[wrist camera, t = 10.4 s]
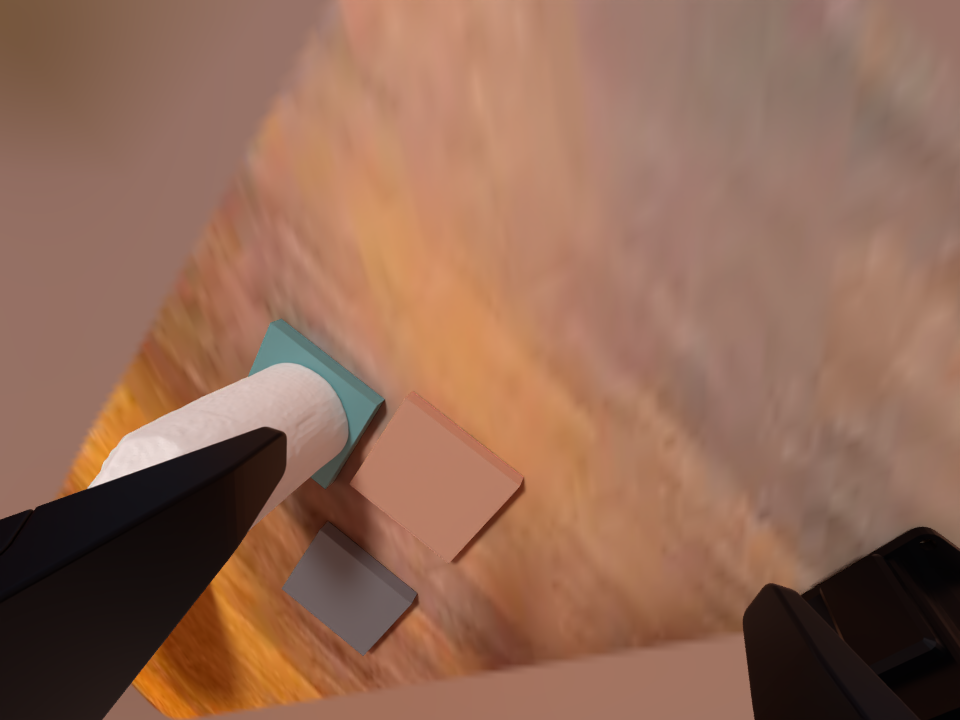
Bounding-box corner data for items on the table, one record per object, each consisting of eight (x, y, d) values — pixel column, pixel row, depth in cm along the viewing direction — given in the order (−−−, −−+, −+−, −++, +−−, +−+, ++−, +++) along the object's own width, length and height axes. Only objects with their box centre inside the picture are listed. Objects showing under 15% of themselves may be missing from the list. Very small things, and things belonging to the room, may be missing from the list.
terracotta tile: (523, 477, 23) (520, 486, 22) (453, 553, 26) (448, 563, 25) (412, 391, 23) (405, 397, 23) (357, 476, 26) (349, 484, 26)
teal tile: (384, 399, 24) (376, 405, 23) (333, 481, 27) (325, 489, 26) (281, 318, 24) (270, 322, 24) (243, 408, 28) (232, 414, 27)
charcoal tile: (417, 593, 28) (411, 603, 27) (369, 645, 31) (363, 656, 30) (327, 521, 28) (319, 529, 28) (289, 579, 32) (281, 588, 31)
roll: (152, 638, 14) (71, 661, 16) (368, 441, 24) (300, 472, 27) (23, 470, 13) (-42, 521, 15) (305, 342, 23) (241, 384, 26)
